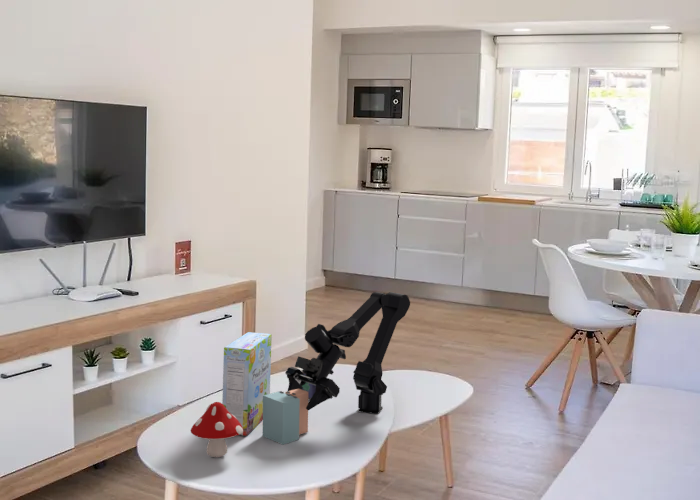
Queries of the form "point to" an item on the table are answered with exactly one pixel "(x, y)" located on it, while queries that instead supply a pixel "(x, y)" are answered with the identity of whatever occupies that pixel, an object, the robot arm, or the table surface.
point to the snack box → (247, 378)
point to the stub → (301, 408)
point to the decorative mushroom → (217, 428)
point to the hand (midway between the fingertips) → (296, 405)
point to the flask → (308, 388)
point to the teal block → (281, 417)
